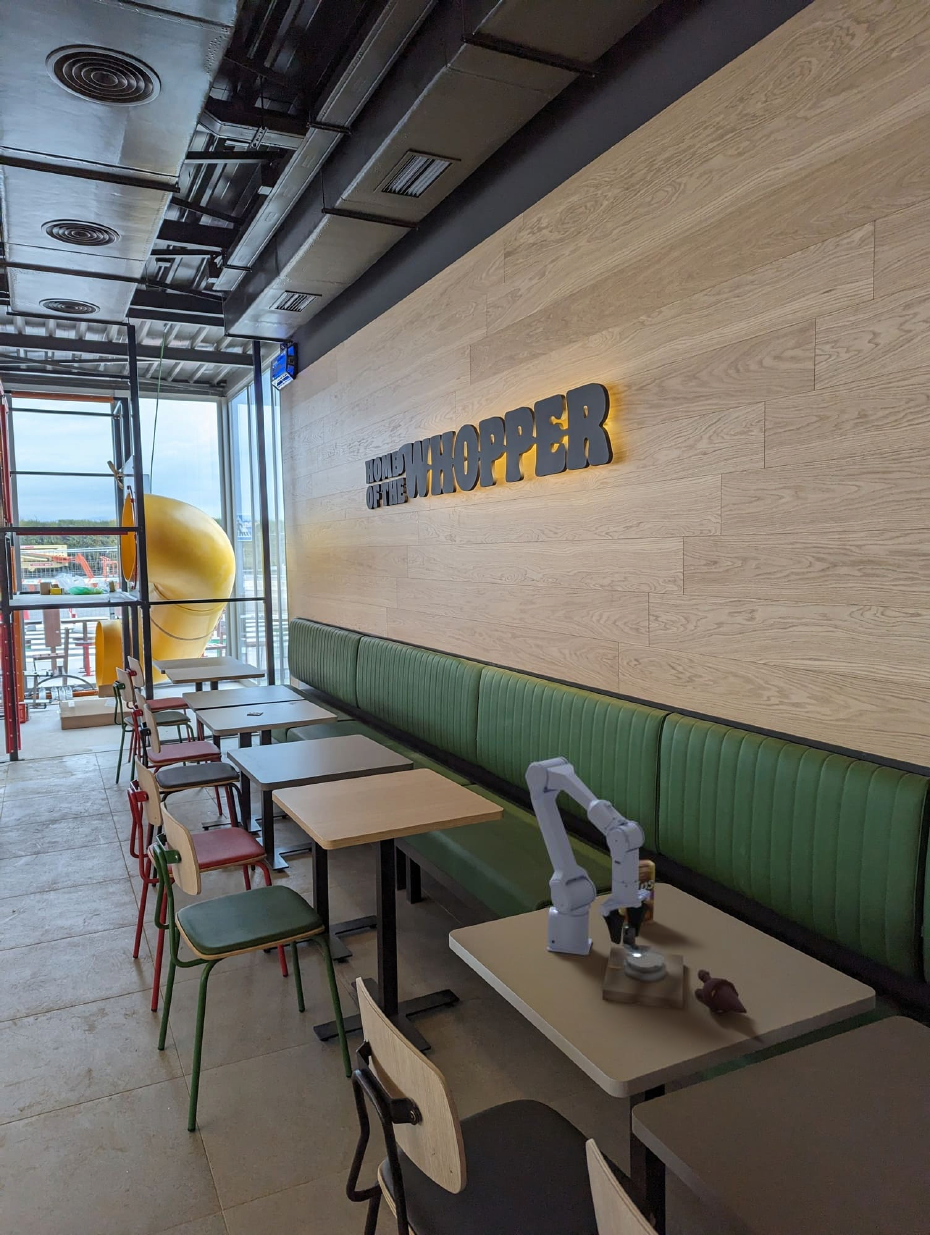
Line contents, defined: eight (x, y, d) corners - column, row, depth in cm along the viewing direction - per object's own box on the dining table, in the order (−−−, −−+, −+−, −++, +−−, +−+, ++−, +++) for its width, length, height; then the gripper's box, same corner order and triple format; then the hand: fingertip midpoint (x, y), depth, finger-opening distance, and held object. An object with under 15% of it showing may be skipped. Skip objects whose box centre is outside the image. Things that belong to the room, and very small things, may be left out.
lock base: (602, 998, 171) (602, 982, 171) (611, 955, 190) (611, 940, 190) (682, 1009, 167) (682, 993, 166) (683, 964, 186) (683, 949, 186)
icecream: (764, 994, 160) (715, 966, 174) (733, 991, 158) (686, 963, 172) (758, 1031, 160) (709, 1000, 174) (727, 1029, 157) (680, 997, 171)
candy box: (621, 927, 205) (621, 866, 204) (614, 919, 209) (615, 860, 209) (654, 923, 207) (655, 864, 206) (647, 916, 211) (648, 858, 210)
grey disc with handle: (671, 968, 176) (672, 942, 176) (639, 975, 173) (640, 948, 173) (640, 946, 186) (640, 921, 186) (609, 952, 183) (610, 927, 183)
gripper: (616, 891, 174) (616, 954, 175) (661, 876, 183) (660, 936, 184) (592, 882, 180) (591, 943, 181) (636, 867, 189) (635, 925, 189)
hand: (624, 939), depth 183 cm, fingers open, 5 cm apart
